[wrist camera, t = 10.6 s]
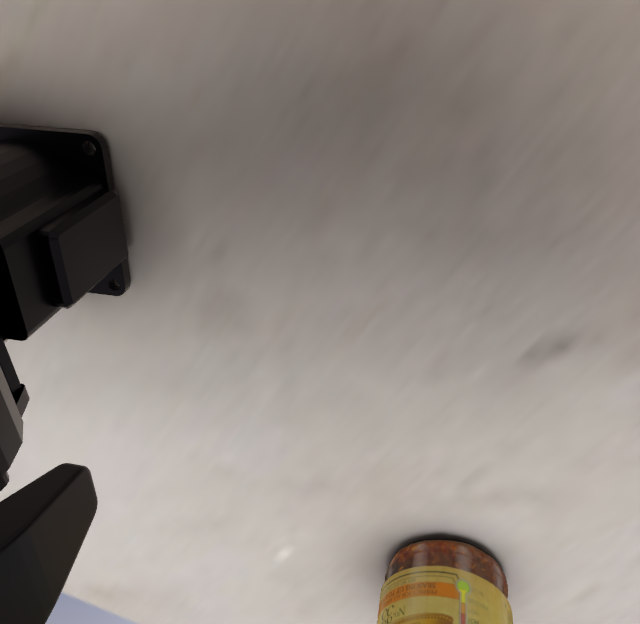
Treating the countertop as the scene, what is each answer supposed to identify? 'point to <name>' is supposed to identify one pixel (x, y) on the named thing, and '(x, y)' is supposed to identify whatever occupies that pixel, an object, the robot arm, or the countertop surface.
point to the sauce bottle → (444, 586)
